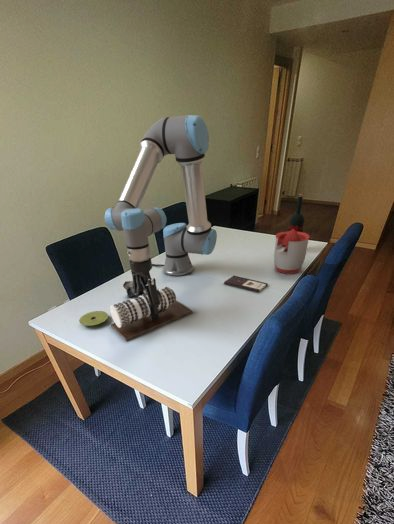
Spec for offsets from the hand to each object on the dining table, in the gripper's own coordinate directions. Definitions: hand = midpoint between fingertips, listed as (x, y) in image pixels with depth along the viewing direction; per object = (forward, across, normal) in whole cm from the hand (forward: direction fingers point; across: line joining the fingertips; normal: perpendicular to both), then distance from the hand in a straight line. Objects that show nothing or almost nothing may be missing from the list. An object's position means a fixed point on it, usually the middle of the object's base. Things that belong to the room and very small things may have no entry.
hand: (149, 315), depth 115 cm
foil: (+3, -20, +8) cm, 21 cm away
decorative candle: (-5, 0, -14) cm, 15 cm away
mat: (+3, -14, -18) cm, 23 cm away
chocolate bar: (+3, +2, +50) cm, 51 cm away
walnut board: (+3, 0, +1) cm, 3 cm away
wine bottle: (+3, -10, +102) cm, 102 cm away
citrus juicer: (+3, +5, +78) cm, 78 cm away
